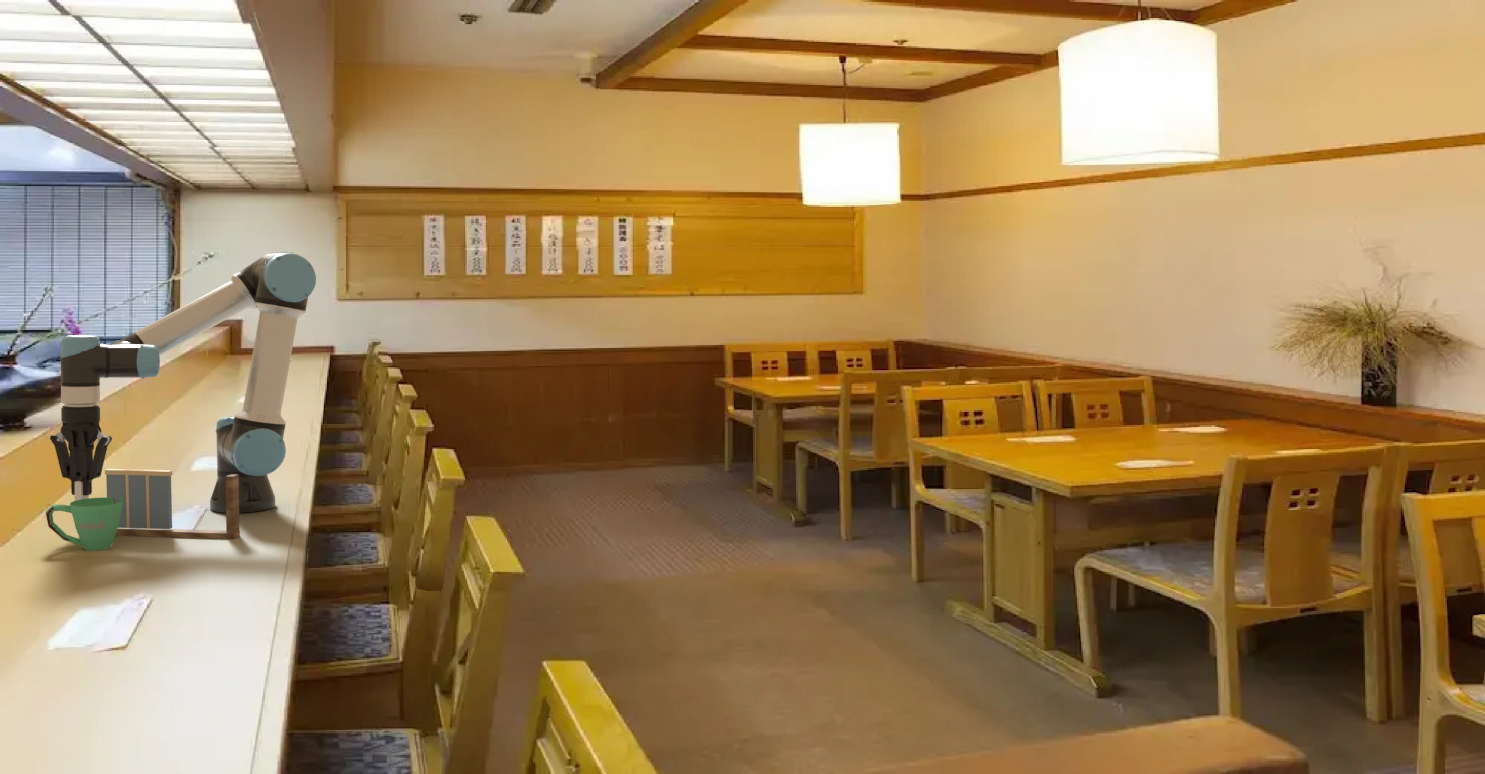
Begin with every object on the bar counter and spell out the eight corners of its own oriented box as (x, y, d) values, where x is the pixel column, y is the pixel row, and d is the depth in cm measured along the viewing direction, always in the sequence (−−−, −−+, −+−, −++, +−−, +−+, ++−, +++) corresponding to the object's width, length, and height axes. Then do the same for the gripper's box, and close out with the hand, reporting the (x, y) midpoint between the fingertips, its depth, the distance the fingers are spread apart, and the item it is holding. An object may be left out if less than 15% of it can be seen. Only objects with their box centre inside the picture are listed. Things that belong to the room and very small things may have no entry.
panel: (173, 527, 260) (172, 470, 259) (169, 529, 258) (168, 471, 257) (110, 526, 260) (108, 468, 259) (106, 527, 259) (104, 470, 258)
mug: (129, 542, 252) (128, 496, 251) (116, 552, 243) (115, 505, 242) (54, 544, 249) (53, 498, 248) (38, 554, 239) (37, 507, 238)
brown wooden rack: (239, 536, 260) (238, 474, 259) (234, 538, 258) (233, 476, 256) (104, 532, 261) (102, 470, 260) (97, 535, 258) (95, 472, 257)
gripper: (119, 404, 261) (119, 507, 263) (62, 402, 262) (63, 505, 264) (99, 407, 254) (100, 513, 256) (41, 405, 254) (42, 511, 256)
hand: (81, 509), depth 260 cm, fingers closed
